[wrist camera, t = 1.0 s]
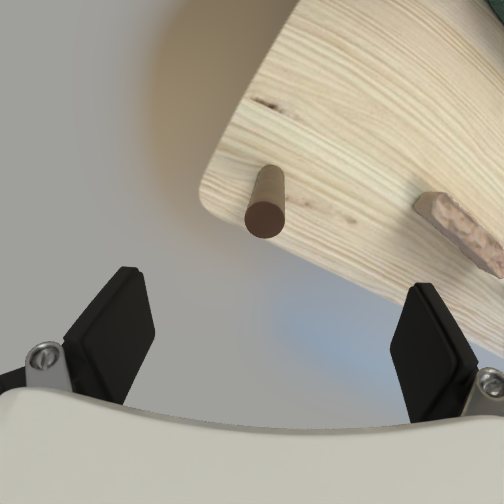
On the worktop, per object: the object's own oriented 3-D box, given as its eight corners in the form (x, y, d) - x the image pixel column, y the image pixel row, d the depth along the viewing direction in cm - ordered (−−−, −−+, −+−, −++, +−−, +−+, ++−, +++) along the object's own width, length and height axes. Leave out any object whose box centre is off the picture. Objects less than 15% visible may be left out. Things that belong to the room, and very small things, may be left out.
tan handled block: (555, 290, 27) (464, 201, 20) (540, 315, 29) (440, 248, 21) (525, 267, 34) (416, 178, 26) (512, 290, 35) (397, 216, 28)
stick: (253, 176, 28) (236, 219, 18) (271, 159, 27) (265, 193, 18) (270, 194, 29) (263, 246, 19) (289, 178, 28) (293, 222, 18)
